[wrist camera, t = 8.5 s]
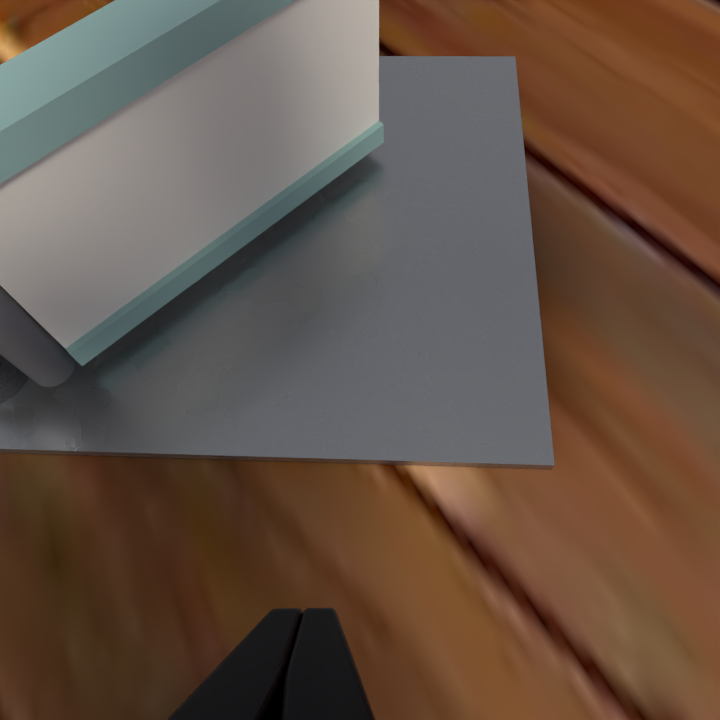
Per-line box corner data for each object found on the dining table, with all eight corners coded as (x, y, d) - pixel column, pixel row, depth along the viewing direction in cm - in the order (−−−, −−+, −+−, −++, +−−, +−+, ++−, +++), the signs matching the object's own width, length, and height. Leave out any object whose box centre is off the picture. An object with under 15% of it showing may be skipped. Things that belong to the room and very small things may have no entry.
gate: (48, 399, 22) (-175, 225, 13) (20, 362, 23) (-212, 173, 14) (385, 147, 27) (388, -108, 18) (353, 123, 28) (341, -135, 19)
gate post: (-116, 449, 23) (-563, 261, 12) (29, 63, 31) (-156, -250, 20) (551, 469, 22) (720, 284, 11) (513, 65, 30) (587, -263, 20)
